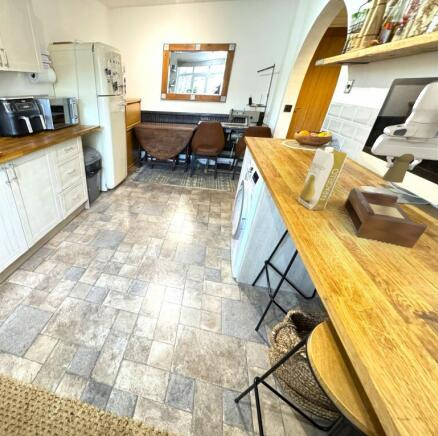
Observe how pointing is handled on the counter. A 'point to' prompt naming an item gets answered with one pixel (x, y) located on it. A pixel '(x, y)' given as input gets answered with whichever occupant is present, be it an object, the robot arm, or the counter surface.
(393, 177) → the pepper mill
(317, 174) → the juice carton
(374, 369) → the counter surface
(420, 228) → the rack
